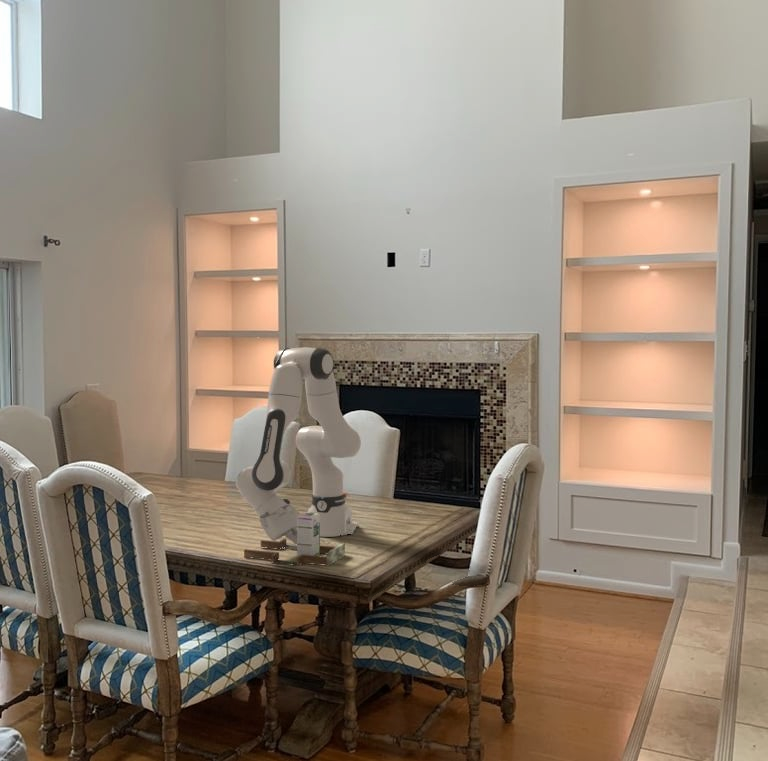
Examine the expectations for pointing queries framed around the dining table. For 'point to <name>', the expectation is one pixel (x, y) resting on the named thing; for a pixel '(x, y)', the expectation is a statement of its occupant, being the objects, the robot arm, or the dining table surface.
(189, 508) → the dining table surface
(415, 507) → the dining table surface
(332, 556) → the trap lane
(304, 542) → the syrup box
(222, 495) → the dining table surface
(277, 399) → the robot arm
